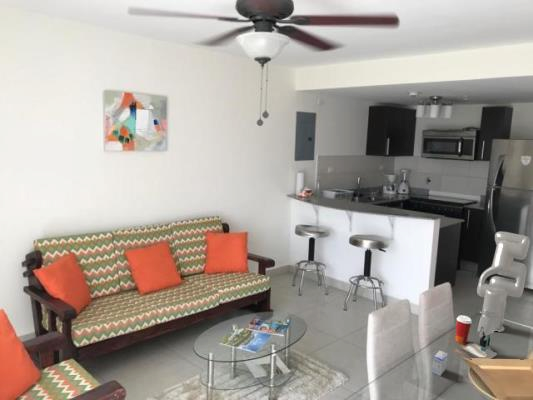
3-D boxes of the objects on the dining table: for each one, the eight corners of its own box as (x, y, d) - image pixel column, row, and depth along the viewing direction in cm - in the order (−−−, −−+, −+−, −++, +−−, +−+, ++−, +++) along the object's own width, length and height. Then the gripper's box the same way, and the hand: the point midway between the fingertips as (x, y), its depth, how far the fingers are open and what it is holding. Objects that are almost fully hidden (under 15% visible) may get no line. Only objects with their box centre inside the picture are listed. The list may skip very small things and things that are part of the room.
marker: (482, 347, 233) (485, 327, 231) (487, 350, 231) (491, 329, 229) (479, 349, 231) (482, 328, 229) (484, 351, 229) (488, 330, 227)
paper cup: (465, 339, 245) (469, 315, 242) (470, 345, 237) (474, 322, 234) (451, 337, 245) (455, 314, 243) (455, 344, 238) (459, 320, 235)
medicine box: (436, 366, 214) (439, 350, 213) (445, 369, 211) (448, 353, 210) (431, 372, 208) (433, 356, 206) (440, 376, 205) (443, 359, 204)
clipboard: (472, 343, 240) (473, 340, 240) (498, 355, 229) (498, 352, 229) (454, 351, 230) (455, 348, 229) (480, 364, 219) (481, 361, 218)
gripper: (490, 307, 235) (484, 338, 238) (474, 313, 225) (469, 345, 229) (504, 312, 229) (498, 344, 232) (489, 319, 220) (483, 352, 223)
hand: (484, 345), depth 231 cm, fingers closed on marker, 2 cm apart
